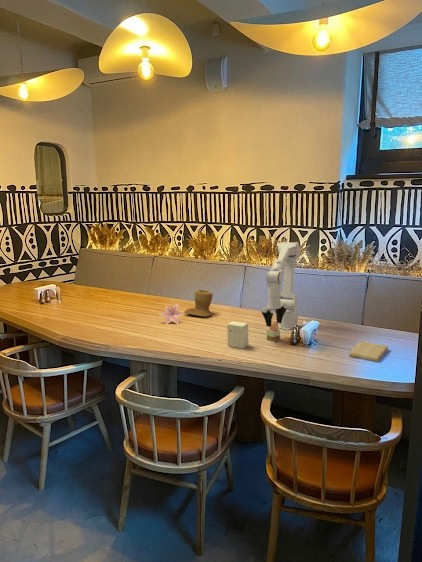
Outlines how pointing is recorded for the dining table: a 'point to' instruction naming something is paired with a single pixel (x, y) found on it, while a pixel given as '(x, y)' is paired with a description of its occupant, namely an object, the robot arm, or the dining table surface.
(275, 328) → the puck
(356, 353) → the washcloth
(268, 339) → the tower base
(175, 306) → the lily
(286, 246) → the robot arm
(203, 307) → the brown boot
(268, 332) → the tower top
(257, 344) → the dining table surface
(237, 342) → the small box
